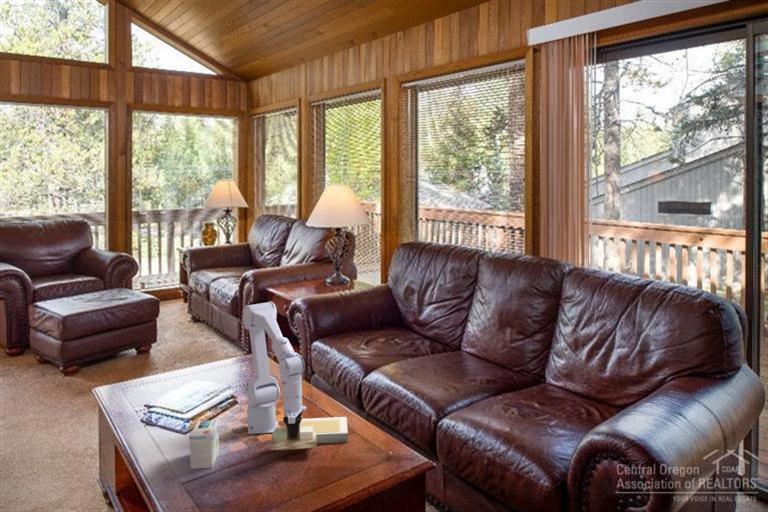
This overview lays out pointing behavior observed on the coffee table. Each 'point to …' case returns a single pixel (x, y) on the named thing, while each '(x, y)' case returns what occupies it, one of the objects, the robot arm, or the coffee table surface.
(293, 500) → the coffee table surface
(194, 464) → the light bulb box
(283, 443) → the tan stepped block
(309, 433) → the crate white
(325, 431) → the dock
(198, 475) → the coffee table surface
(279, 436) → the block
